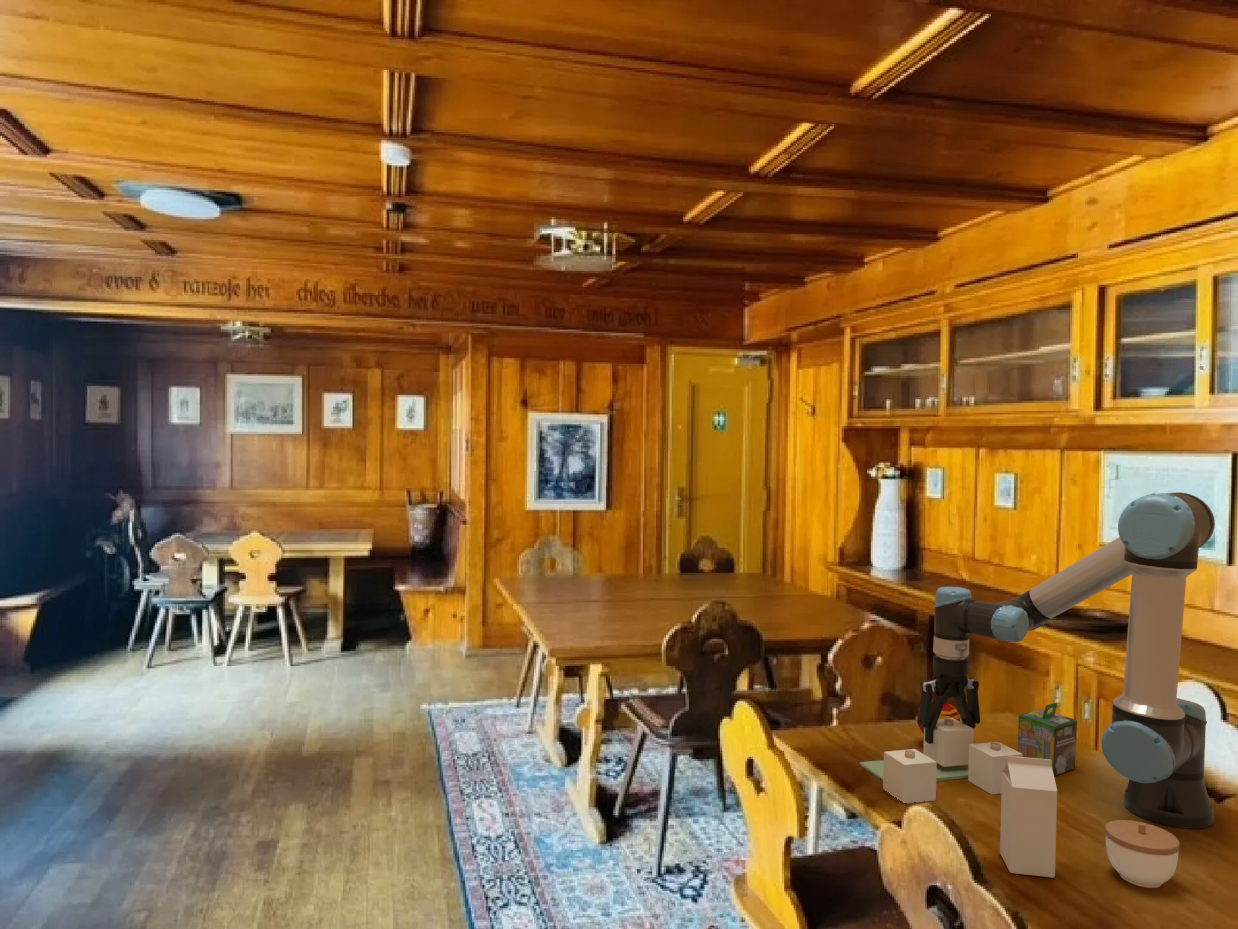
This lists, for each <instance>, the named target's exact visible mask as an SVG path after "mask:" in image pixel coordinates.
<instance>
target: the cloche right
mask: <svg viewBox="0 0 1238 929" xmlns="http://www.w3.org/2000/svg"><path fill="white" fill-rule="evenodd" d="M1008 756H1014V757H1023V754H1022V753H1020V752H1018V750H1016V749H1013V748H1011V747H1010V746H1007V745H1005V744H1004V743H1002V742H1000V741H993V742H992V741H990V742H981V743H973V744H969V768H968V778H967V781H969V782H970V783H972V785H975V786H977V787H979V788H980V789H981V790H983V791H984V792H987V793H988V794H990V795H999V794H1000V795H1002V771H1003V769H1004V767H1005V765H1006V764H1007V757H1008Z"/></svg>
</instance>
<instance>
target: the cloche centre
mask: <svg viewBox="0 0 1238 929" xmlns="http://www.w3.org/2000/svg"><path fill="white" fill-rule="evenodd" d="M935 729H936V730H938V748H937V759H933V758H931V757H929V756H928V755H927V742H925V728H924V734H923V752H922V754H924V755H926V756H927V757H929V758H931V759H933V760H934V761H936V762H937V763H938V764H940V765H941V766H943V767H947V766H959V765H969V744H975V743H974V739H975V736H974V735H975V733H974V732H975V728H971V727H969V726H967V725H965V724H963V723H962V721H960V722H959V721H957V720H956V719H954V718H946V719H938V722H937V724H936V727H935Z"/></svg>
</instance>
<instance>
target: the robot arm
mask: <svg viewBox="0 0 1238 929" xmlns="http://www.w3.org/2000/svg"><path fill="white" fill-rule="evenodd" d="M1215 521H1216V520H1215V516H1214V513H1213V511H1212V510H1211V508H1210V506H1209V505H1208V504H1207V503H1206V502H1205V501H1204V500H1203V499H1201V498H1199V497H1198V496H1195V495H1193V494H1190V493H1186V492H1168V493H1166V492H1165V493H1164V492H1162V493H1161V492H1160V493H1159V492H1158V493H1156V492H1155V493H1154V492H1153V493H1149V494H1146V495H1142V496H1140V497H1139V498H1136V499H1134V500H1133V501H1131V502H1130V503H1129V504H1127V506H1125V508H1124V509H1122V512H1121V514H1120V516H1119V519H1118V521H1117V530H1118V531H1117V533H1118V536H1119V537H1116V538H1115V539H1113V540H1112V541H1110V542H1108V543H1107V544H1105V545H1103V546H1102V547H1100V548H1098V549H1097V550H1095V551H1092V553H1089V554H1088V555H1086V556H1084V557H1083V558H1081V559H1079V560H1078V561H1076V562H1074V563H1073V564H1071V565H1069V566H1067V567H1065V568H1064V569H1063V570H1060V571H1059V572H1058V573H1056V574H1053V575H1052V576H1051V577H1049V578H1047V579H1045V580H1044V581H1041V582H1040V583H1039V584H1037V585H1035V586H1033V587H1032V588H1030V589H1029V590H1026V591H1025V592H1023V593H1021V594H1020V595H1018V596H1017V597H1014V598H1013V599H1007V600H1003V601H999V602H987V601H980V600H975V599H972V593H971V592H972V591H970V590H969V589H968V588H964V587H960V586H941V587H938V588H937V590H936V591H935V597H934V598H935V599H934V605H933V607H934V632H933V634H934V635H933V646H932V647H933V648H932V649H933V651H932V652H933V653H934V655H933V658H932V659H933V660H932V671H933V674H934V675H933V677H932V680H930V681H921V682H920V686H921V687H920V688H921V695H920V702H919V708H918V709H919V710H918V711H919V713H918V712H917V715H918V720H917V721H916V722H917V725H918V724H919V725H921V726H922V727H924V728H925V742H927V755H928V756H929V757H931V758H933V759H937V748H938V730H936V729H935V727H936V724H937V722H938V719H939V716H940V714H941V711H942V708H943V706H944V703H945V702H947V703H948V699H951V698H954V701H955V704H956V709H957V712H958V713H959V714H960V717H961V718H960V721H961V723H963V724H965V725H967V726H969V727H971V728H973V729H975V728H976V727H977V725H979V724H980V723H981V712H980V704H979V703H980V702H979V693H978V692H979V686H980V682H979V681H978V680H975V679H974V678H973V679H972V678H970V677H969V678H968V675H969V669H970V668H969V664H970V660H969V658H968V657H969V655H970V636H971V635H975V636H979V637H985V638H989V639H990V638H991V639H995V640H999V641H1001V642H1011V643H1020V642H1022V641H1023V640H1024V639H1025V637H1027V634H1028V631H1029V632H1031V631H1035V630H1037V629H1039V628H1041V627H1042V626H1044V625H1045V624H1046V622H1048V621H1050V620H1052V619H1053V618H1055V617H1056V616H1059V615H1060V614H1062V613H1064V612H1066V611H1068V610H1070V609H1071V608H1073V607H1075V606H1076V605H1079V604H1080V603H1083V602H1084V601H1086V600H1088V599H1089V598H1091V597H1094V596H1096V595H1097V594H1099V593H1100V592H1103V591H1104V590H1106V589H1108V588H1110V587H1112V586H1113V585H1115V584H1117V583H1118V582H1121V581H1123V580H1124V579H1126V578H1128V577H1130V576H1131V584H1130V599H1129V611H1128V623H1127V625H1128V626H1127V638H1126V649H1125V650H1126V651H1125V660H1124V661H1125V662H1124V663H1125V664H1124V675H1123V676H1124V678H1123V688H1122V689H1123V690H1122V693H1121V694H1120V695H1118V696H1117V697H1115V698H1114V699H1113V702H1112V711H1111V712H1112V713H1111V722H1110V725H1108V726H1107V727H1106V728H1105V731H1103V734H1102V737H1101V750H1102V754H1103V756H1104V757H1105V760H1106V761H1107V763H1108V764H1110V766H1111V767H1112V768H1113V769H1114V771H1115V772H1117V773H1118V774H1119V775H1120V776H1122V777H1124V778H1126V779H1128V783H1127V786H1126V787H1125V790H1124V792H1123V805H1124V807H1125V808H1126V809H1128V811H1130V812H1131V813H1133V814H1135V815H1136V816H1138V817H1140V818H1142V819H1146V820H1149V821H1150V822H1154V823H1158V824H1161V825H1164V826H1165V825H1166V826H1170V827H1175V828H1182V829H1204V828H1209V827H1211V826H1212V825H1213V824H1214V818H1215V817H1214V807H1213V805H1212V804H1211V801H1210V797H1209V794H1208V792H1207V791H1208V790H1207V787H1206V784H1205V758H1206V757H1205V756H1206V732H1207V730H1206V729H1207V722H1208V721H1207V716H1206V709H1205V708H1204V707H1203V706H1202V705H1201V704H1199V703H1197V702H1194V701H1192V700H1191V701H1190V700H1186V699H1182V698H1179V697H1178V698H1177V696H1178V683H1179V674H1180V673H1179V671H1180V659H1181V650H1182V649H1181V648H1182V639H1183V638H1182V637H1183V635H1182V634H1183V623H1184V612H1185V610H1184V609H1185V599H1186V598H1185V597H1186V588H1187V586H1186V585H1187V578H1188V577H1189V576H1190V575H1192V574H1193V573H1194V572H1196V571H1197V570H1198V562H1199V550H1200V548H1202V547H1203V546H1204V545H1205V544H1206V543H1208V542H1209V540H1211V537H1212V536H1213V534H1214V531H1215V528H1216V523H1215ZM934 687H935V688H936V689H935V692H934ZM965 688H966V689H965ZM933 692H934V694H933ZM965 692H966V693H965ZM940 695H941V696H942V697H940ZM933 697H934V699H933ZM932 700H933V701H932Z"/></svg>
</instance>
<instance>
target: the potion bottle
mask: <svg viewBox="0 0 1238 929" xmlns="http://www.w3.org/2000/svg"><path fill="white" fill-rule="evenodd" d="M935 689H936V688H935V687H934V692H935ZM934 692H933V694H934ZM940 697H942V696H941V695H940ZM933 699H934V697H933ZM933 699H932V701H933ZM918 713H919V708H918V712H917V716H915V721H916V722H917V720H918ZM946 718H954V719H956V720H957V721H959V722H961V717H960V714H959V711H958V709H957V707H955V706H953V705H952V704H950V703H949V702H948V701H947V702H945V703H944V706H943V708H942V711H941V714H940V716H939V719H946ZM917 726H918V727H919V730H920V731H921V733H922V735H924V727H922V726H921V725H919V724H918V723H917Z"/></svg>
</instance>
